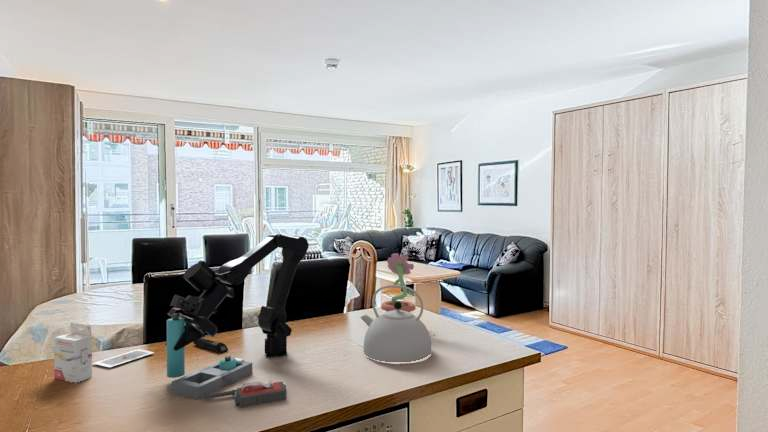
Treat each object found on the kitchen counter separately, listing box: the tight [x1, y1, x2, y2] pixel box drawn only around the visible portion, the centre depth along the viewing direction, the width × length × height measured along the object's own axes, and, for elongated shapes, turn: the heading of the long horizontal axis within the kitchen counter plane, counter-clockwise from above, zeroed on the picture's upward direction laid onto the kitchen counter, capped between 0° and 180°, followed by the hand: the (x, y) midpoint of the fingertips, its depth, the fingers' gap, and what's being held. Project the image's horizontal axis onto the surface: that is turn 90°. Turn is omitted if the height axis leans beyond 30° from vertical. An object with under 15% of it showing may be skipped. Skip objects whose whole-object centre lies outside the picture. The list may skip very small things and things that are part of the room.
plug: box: [166, 313, 186, 379], centre depth 123 cm, size 4×4×16 cm
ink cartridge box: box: [54, 322, 93, 384], centre depth 125 cm, size 9×5×15 cm, turn 71°
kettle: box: [359, 284, 432, 362], centre depth 151 cm, size 25×23×23 cm
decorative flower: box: [380, 252, 417, 313], centre depth 181 cm, size 15×14×30 cm
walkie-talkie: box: [203, 380, 287, 408], centre depth 113 cm, size 9×4×20 cm
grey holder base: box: [171, 355, 253, 400], centre depth 123 cm, size 20×9×6 cm, turn 156°
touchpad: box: [92, 348, 155, 368], centre depth 140 cm, size 8×15×2 cm, turn 155°
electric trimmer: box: [192, 337, 229, 354], centre depth 153 cm, size 4×16×3 cm, turn 57°
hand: (170, 348), depth 122 cm, fingers closed on plug, 4 cm apart
